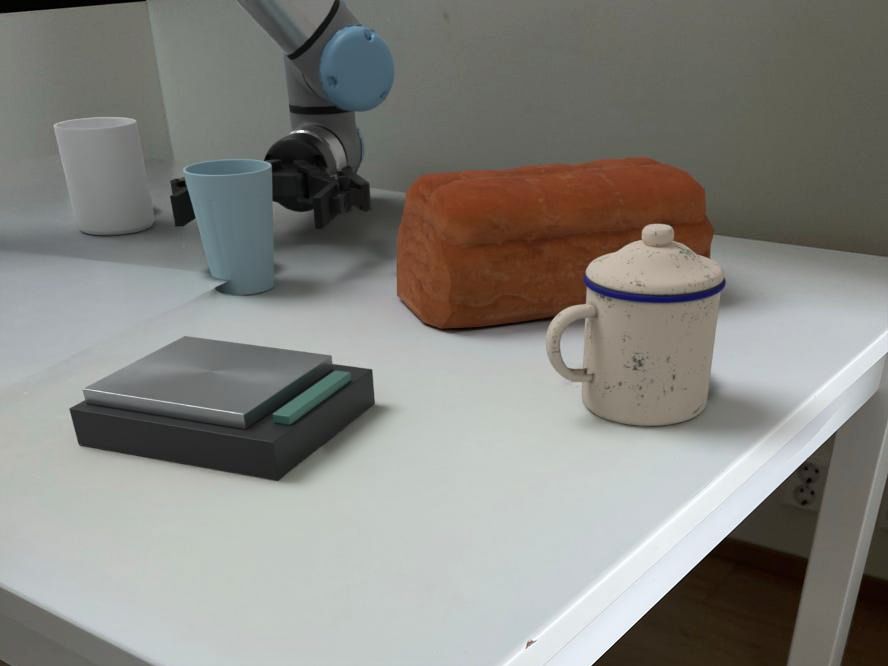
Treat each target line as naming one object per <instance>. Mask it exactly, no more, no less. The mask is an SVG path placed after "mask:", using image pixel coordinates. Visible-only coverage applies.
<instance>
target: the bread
mask: <svg viewBox="0 0 888 666" xmlns="http://www.w3.org/2000/svg"><path fill="white" fill-rule="evenodd" d="M706 213H707V201H706V190H705V187H704V186H703V185H701V184H700V183H699V182H698V181H697V180H696V179H695V178H694V176H692V175H691V174H690V173H689V172H688V171H686V170H684V169H682V168H678V167H676V166H674V165H671V164H668V163H662V162H660V161H658V160H655V159H653V158H651V157H648V156H630V157H629V156H628V157H623V158H603V159H597V160H593V161H588V162H587V161H586V162H581V163H576V164H566V163H560V162H559V163H557V162H556V163H547V164H546V163H545V164H534V165H524V166H518V167H513V168H507V169H502V170H499V169H471V170H470V169H469V170H468V169H466V170H460V171H454V172H453V171H452V172H451V171H450V172H438V173H426V174H425V173H423V174H421V175H420V177H418V178H417V179H416V180H415V182H413V183H412V184H411V185H410V186H409V187H408V189H407V190H406V192H405V197H404V205H403V210H402V215H401V222H400V224H399V227H398V230H397V240H396V261H395V263H396V266H395V267H396V296H397V297H398V298H399V299H400V301H402V302H403V303H404V304H405V305H406V306H407V307H408V309H409V310H410V311H411V312H412V313H413V314H414V315H415V316H416V317H417V318H418V319H419V320H420V321H421V322H422V323H424V324H426V325H430V326H433V327H436V328H439V329H457V328H458V329H459V328H480V327H489V326H498V325H503V324H512V323H521V322H528V321H535V320H540V319H542V320H543V319H547V318H555V317H556V316H557V315H558V314H559V313H560V312H561V311H563V310H564V309H566V308H568V307H571V306H575V305H582V304H586V294H587V286H586V285H585V283H584V274H585V273H586V269H587V267H588V266H589V264H590V263H591V262H592V261H593V260H595V259H596V258H598V257H601V256H603V255H606V254H610V253H614V252H617V251H619V250H620V249H622V248H623V247H624V246H626V245H628V244H630V243H632V242H636V241H639V240H642V231H643V229H644V228H645V226H647V225H650V224H665V225H669V226H671V227H672V228H673V230H674V239H673V241H675V242H678V243H681V244H683V245H685V246H687V247H688V248H690V249H691V250H692V251H693V252H694V253H696V254H697V255H700V256H704V257H706V258H709V259H711V251H712V250H711V248H712V244H713V243H712V242H713V238H714V235H715V231H716V230H715V228H714V227H713V224H712V223H711V221H710V220H709V218H708V216H707V214H706Z"/></svg>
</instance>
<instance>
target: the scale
mask: <svg viewBox="0 0 888 666" xmlns="http://www.w3.org/2000/svg"><path fill="white" fill-rule="evenodd" d="M374 384H375V383H374V373H373V369H372V368H366V367H360V366H352V365H344V364H336V363H334V362H333V356H332V355H331V354H324V353H318V352H317V353H316V352H309V351H301V350H294V349H286V348H278V347H273V346H272V347H270V346H263V345H256V344H247V343H241V342H235V341H234V342H233V341H227V340H218V339H212V338H211V339H210V338H205V337H195V336H188V335H184V336H182V337H180V338H178V339H176V340H174V341H173V342H170V343H168V344H166V345H165V346H163V347H161V348H159V349H156V350H155V351H153V352H151V353H149V354H147V355H145V356H143V357H141V358H140V359H137V360H135V361H134V362H131V363H130V364H128V365H126V366H124V367H122V368H120V369H118V370H117V371H114V372H113V373H111V374H108V375H106V376H104V377H103V378H101V379H99V380H97V381H95V382H93V383H91V384H89V385H87V386H85V387H83V388H82V392H83V397H84V400H82V401H80V402H78V403H76V404H75V405H73V406H71V407H69V408H68V409H69V414H70V418H71V421H72V425H73V429H74V433H75V436H76V441H77V444H78V445H79V446H84V447H89V448H94V449H100V450H106V451H111V452H117V453H122V454H127V455H128V454H129V455H134V456H140V457H144V458H145V457H146V458H151V459H156V460H163V461H167V462H172V463H178V464H185V465H190V466H195V467H201V468H205V469H212V470H217V471H223V472H228V473H235V474H238V475H239V474H240V475H244V476H250V477H256V478H261V479H267V480H272V481H273V480H274V481H279V480H281V479H282V478H283V477H284V476H286V475H287V474H289V473H290V472H291V471H292V470H293V469H295V468H296V467H297V466H299V465H300V464H301V463H302V462H303V461H305V460H306V459H307V458H309V456H311V455H312V454H313V453H315V452H316V451H318V450H319V449H320V448H321V447H322V446H323V445H325V444H326V443H327V442H329V441H330V440H331V439H332V438H333V437H335V436H337V435H338V433H340V432H341V431H342V430H343V429H345V428H346V427H348V426H349V425H350V424H352V423H353V422H354V421H355V420H357V418H359V417H360V416H361V415H362V414H364V413H365V412H367V411H368V410H369V409H370V408H372V406H374V405H375V404H376V400H375V399H376V398H375V386H374Z"/></svg>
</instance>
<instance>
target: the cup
mask: <svg viewBox="0 0 888 666" xmlns="http://www.w3.org/2000/svg"><path fill="white" fill-rule="evenodd" d="M182 173H183V177H185V181H186V184H187V188H188V192H189V195H190V198H191V202H192V206H193V209H194V213H195V217H196V218H195V221H196V224H197V227H198V228H197V229H198V231H199V235H200V239H201V243H202V247H203V250H204V254H205V257H206V261H207V264H208V268H209V272H210V275H211V277H212V278H216V279H217V280H223V281H225V282H223V283H221V284H219V285H217V286H215V287H214V290H215V291H216V292H218V293H219V294H223V295H228V296H248V295H247V294H249V295H256V294H255V293H257V294H261V293H265V292H267V291H269V290H272V289H273V287H275V249H274V247H275V245H274V244H275V243H274V209H273V208H274V207H273V206H274V205H273V204H274V202H273V201H272V165H271V164H270V163H268V162H265V161H264V160H260V159H252V158H228V159H227V158H226V159H215V160H206V161H200V162H195V163H191V164H188V165H186V166H185V167H183V169H182ZM260 292H261V293H260Z"/></svg>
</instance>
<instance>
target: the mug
mask: <svg viewBox="0 0 888 666" xmlns="http://www.w3.org/2000/svg"><path fill="white" fill-rule="evenodd" d="M53 130H54V134H55V139H56V143H57V148H58V153H59V156H60V160H61V161H60V162H61V165H62V170H63V173H64V177H65V182H66V186H67V191H68V195H69V200H70V204H71V209H72V213H73V216H74V217H73V218H74V220H75V223H76V226H77V228H78V229H79V231H80V232H82V233H85V234H88V235H93V236H120V235H129V234H133V233H138V232H142V231H145V230H148V229H149V228H151V227H153V224H154V222H155V214H154V206H153V202H152V197H151V191H150V190H151V189H150V185H149V180H148V174H147V170H146V163H145V158H144V154H143V147H142V142H141V137H140V133H139V132H140V131H139V126H138V121H137V120H136V119H135V118H129V117H124V116H123V117H121V116H97V117H84V118H74V119H67V120H63V121H59V122H55V123H54V124H53Z"/></svg>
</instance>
